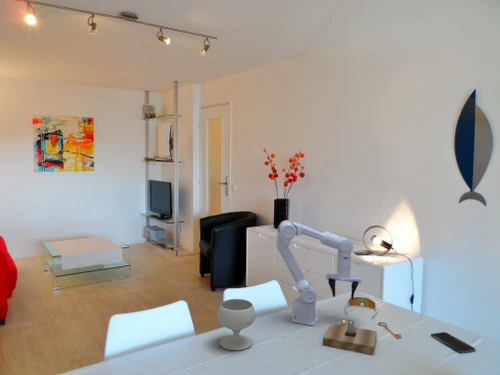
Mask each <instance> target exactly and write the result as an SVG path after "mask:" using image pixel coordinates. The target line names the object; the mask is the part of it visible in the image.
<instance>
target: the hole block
mask: <svg viewBox="0 0 500 375" xmlns="http://www.w3.org/2000/svg"><path fill="white" fill-rule="evenodd" d="M377 332H378V331H377V330H372V329H367V328H360V327H357V326H356V327H355V326H354V337H350V336H347V326H344V325H341V324H337V323H332V322H330V323H329V324H328V326H327V329H326V331H325V333H324V335H323V336H322V346H325V347H330V348H336V349H340V350H345V351H349V352H357V353H361V354H364V355H365V354H366V355H372V356H373V355H374V352H375V347H376V342H377V334H378V333H377Z"/></svg>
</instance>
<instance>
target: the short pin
mask: <svg viewBox="0 0 500 375" xmlns="http://www.w3.org/2000/svg"><path fill="white" fill-rule="evenodd" d="M340 325H344V326H347V325H348V320H347V319H346V318H341V319H340Z"/></svg>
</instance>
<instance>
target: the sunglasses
mask: <svg viewBox="0 0 500 375" xmlns="http://www.w3.org/2000/svg"><path fill="white" fill-rule="evenodd" d="M362 303H363V306H364V307H365V308H369V309H371V310H373V311H375V312H374V314H373V315H372V316H371V318H370V320H372V319H373V318H374V317H375V315H376V314H377V311H378V306H377V302H376V301H375V300H373V299H372V298H370V297H367V296H362V295H361V296H360V295H357V296H355V295H354V297H353V300H351V297H349V298H348V299H347V300H346V301H345V304H344V312H345V314H346V316H349V314H348V312H347V308H346V305H348V307H359V306H361V304H362Z"/></svg>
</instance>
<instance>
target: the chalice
mask: <svg viewBox="0 0 500 375" xmlns="http://www.w3.org/2000/svg"><path fill="white" fill-rule="evenodd" d="M217 319H218V322H219V324H220V325H221V326H223V327H224V328H226V329H229V330H230V331H231V332H233V334H229V335H227V336H225V337H223V338H222V339H221V340H220V341H219V344H220V346H221V347H222V348H224V349H226V350H229V351H243V350H246V349H247V350H248V349H249V348H251V346H253V340H252V339H251V338H250V337H248V336H246V335H242V334H240V332H241V331H242V330H244V329H247V328H249V327H251V326H252V325H253V324H254V323H255V320H256V310H255V307H254V305H253V303H252V302H251V301H249V300H247V299H241V298H233V299H232V298H231V299H227V300H224V301H222V302H221V304H220V305H219V307H218V311H217Z"/></svg>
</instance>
